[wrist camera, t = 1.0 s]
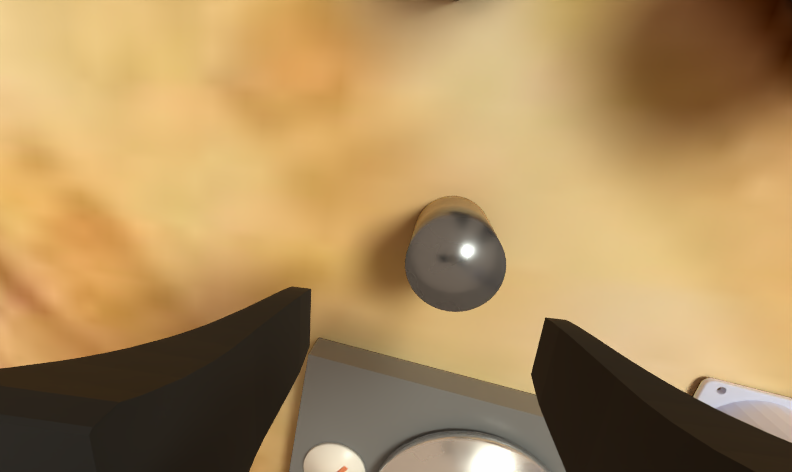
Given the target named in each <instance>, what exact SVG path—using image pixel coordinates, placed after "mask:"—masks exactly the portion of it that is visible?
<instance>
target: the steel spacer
mask: <svg viewBox="0 0 792 472" xmlns="http://www.w3.org/2000/svg"><path fill="white" fill-rule="evenodd" d="M405 270H406V275H407V279H408V281H409V284H410V285H411V287H412V289H413V290H414V292H415V293H416V294H417V295H418V296H419V297H420V298H421V299H422V300H423V301H424V302H426V303H427V304H429V305H431V306H433V307H435V308H438V309H441V310H445V311H452V312H459V311H467V310H471V309H474V308H476V307H479V306H481V305H482V304H484V303H486V302H487V301H488V300H490V299H491V298H492V297H493V296H494V295H495V293H496V292H497V291H498V290H499V288H500V286H501V284H502V282H503V279H504V276H505V272H506V258H505V253H504V250H503V247H502V245H501V243H500V241H499V240H498V238H497V236H496V234H495V232H494V230H493V228H492V226H491V224H490V223H489V221H488V219H487V217H486V215H485V213H484V212H483V210H482V209H481V208H480V207H479V206H478V205H477V204H475V203H474V202H472V201H471V200H469V199H466V198H463V197H458V196H447V197H442V198H439V199H437V200H435V201H433V202H431V203H430V204H428V205H427V206H426V207H425V208H424V209H423V211H422V212H421V214H420V215H419V217H418V219H417V222H416V225H415V229H414V232H413V235H412V238H411V241H410V244H409V247H408V250H407V254H406V259H405Z"/></svg>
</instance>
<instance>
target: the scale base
mask: <svg viewBox="0 0 792 472" xmlns="http://www.w3.org/2000/svg"><path fill="white" fill-rule="evenodd" d="M444 431H472V432H480V433H485V434H489V435H494V436H497V437H500V438H503V439H506V440H508V441H510V442H512V443H514V444H517V445H519V446H520V447H522V448H524V449H525V450H527V451H529V452H530V453H531V454H533V455H534V456H535V457H537V458H538V459H539V460H540V461H541V462H542V463H543V464H544V465H545V466H546V467H547V468H548V469H549V470H550V471H551V472H566V471H565V468H564V466H563V463H562V461H561V458H560V456H559V454H558V451H557V449H556V446H555V444H554V441H553V439H552V437H551V434H550V432H549V429H548V427H547V424H546V422H545V419H544V417H543V414H542V412H541V409H540V407H539V404H538V400H537V396H536V395H534V394H530V393H526V392H523V391H519V390H515V389H511V388H507V387H504V386H500V385H496V384H492V383H489V382H485V381H481V380H477V379H473V378H470V377H466V376H462V375H458V374H454V373H451V372H447V371H443V370H439V369H436V368H432V367H428V366H424V365H420V364H417V363H413V362H409V361H405V360H401V359H398V358H394V357H390V356H386V355H383V354H379V353H375V352H371V351H367V350H364V349H360V348H356V347H352V346H348V345H345V344H341V343H337V342H333V341H330V340H326V339H322V338H318V340H317V341H316V343H315V345H314V346H313V348H312V349H311V351H310V353H309V355H308V361H307V367H306V373H305V379H304V385H303V391H302V397H301V403H300V409H299V415H298V421H297V427H296V433H295V439H294V445H293V451H292V458H291V464H290V470H289V472H377V471H378V470H379V468H380V466H381V465H382V463H383V462H384V461H385V460H386V458H387V457H388V456H389V455H391V454H392V453H393V452H394V451H395V450H396V449H398V448H399V447H401V446H402V445H404V444H405V443H407V442H409V441H411V440H413V439H416V438H419V437H421V436H424V435H428V434H432V433H437V432H444Z"/></svg>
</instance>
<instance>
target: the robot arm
mask: <svg viewBox="0 0 792 472" xmlns="http://www.w3.org/2000/svg"><path fill="white" fill-rule="evenodd" d="M310 310H311V289H308V288H299V287H289V288H287V289H284V290H282V291H280V292H278V293H276V294H274V295H272V296H269V297H267V298H265V299H263V300H261V301H259V302H257V303H255V304H253V305H251V306H249V307H247V308H245V309H242V310H240V311H238V312H236V313H233V314H231V315H229V316H226V317H224V318H222V319H219V320H217V321H215V322H212V323H210V324H207V325H204V326H202V327H199V328H196V329H193V330H190V331H187V332H184V333H181V334H178V335H175V336H172V337H169V338H165V339H161V340H157V341H153V342H150V343H146V344H142V345H138V346H135V347H131V348H127V349H122V350H117V351H113V352H108V353H103V354H98V355H92V356H87V357H81V358H76V359H70V360H63V361H56V362H49V363H41V364H34V365H26V366H18V367H11V368H1V369H0V472H249V470H250V468H251V466H252V463H253V461H254V458H255V456H256V454H257V452H258V450H259V448H260V446H261V444H262V442H263V439H264V437H265V436H266V434H267V432H268V430H269V428H270V426H271V425H272V423H273V421H274V419H275V417H276V415H277V414H278V412H279V410H280V408H281V406H282V404H283V403H284V401H285V399H286V397H287V395H288V393H289V392H290V390H291V388H292V386H293V384H294V382H295V380H296V378H297V376H298V375H299V372H300V370H301V367H302V365H303V362H304V359H305V357H306V354H307V351H308V348H309V346H310ZM531 376H532V380H533V384H534V388H535V392H536V396H537V400H538V404H539V407H540V409H541V412H542V414H543V417H544V419H545V422H546V424H547V427H548V429H549V432H550V434H551V437H552V439H553V441H554V444H555V446H556V449H557V451H558V454H559V456H560V458H561V461H562V463H563V466H564V468H565V471H566V472H792V398H789V397H785V396H781V395H777V394H773V393H769V392H766V391H762V390H758V389H754V388H750V387H746V386H742V385H738V384H734V383H730V382H726V381H722V380H718V379H714V378H706V379H704V380H703V381H702V382H701V383H700V385H699V387H698V389H697V390H696V392H695V394H694V396H693V397H692V396H690V395H688V394H687V393H685V392H683V391H681V390H679V389H677V388H675V387H674V386H672V385H670V384H668V383H667V382H665V381H663V380H662V379H660V378H658V377H657V376H655V375H653V374H651V373H650V372H648V371H646V370H645V369H643V368H642V367H640V366H638V365H637V364H635V363H634V362H632V361H630V360H629V359H627V358H626V357H624V356H623V355H621V354H620V353H618V352H616V351H615V350H613V349H612V348H610V347H609V346H607V345H606V344H604V343H603V342H601V341H600V340H598V339H597V338H595V337H594V336H592V335H591V334H589V333H588V332H586V331H584V330H583V329H581V328H580V327H578V326H576V325H575V324H573V323H571V322H569V321H567V320H561V319H553V318H545V321H544V325H543V329H542V333H541V337H540V341H539V345H538V349H537V353H536V357H535V361H534V365H533V369H532V373H531ZM720 387H721V388H720ZM718 388H720V389H719V390H717V389H718Z"/></svg>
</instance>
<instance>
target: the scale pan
mask: <svg viewBox="0 0 792 472" xmlns="http://www.w3.org/2000/svg"><path fill="white" fill-rule="evenodd" d="M377 472H551V471H550V470H549V469H548V468H547V467H546V466H545V465H544V464H543V463H542V462H541V461H540V460H539V459H538V458H537V457H535V456H534V455H533V454H531V453H530V452H529V451H527V450H525V449H524V448H522V447H520V446H519V445H517V444H514V443H512V442H510V441H508V440H506V439H503V438H500V437H497V436H494V435H489V434H485V433H480V432H472V431H444V432H437V433H432V434H428V435H424V436H421V437H419V438H416V439H413V440H411V441H409V442H407V443H405V444H404V445H402V446H401V447H399V448H398V449H396V450H395V451H394V452H393V453H392V454H391V455H389V456H388V457H387V458H386V460H385V461H384V462H383V463H382V465H381V466H380V468H379V470H378V471H377Z"/></svg>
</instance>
